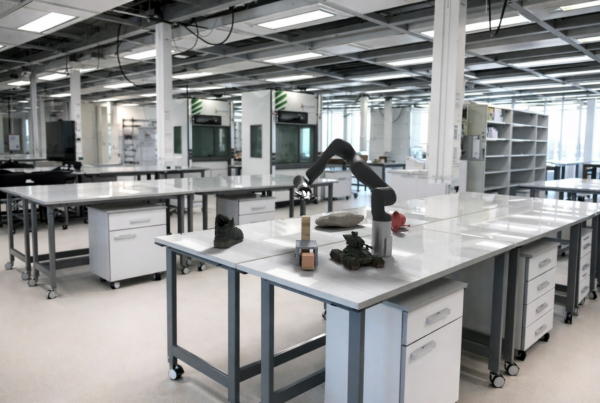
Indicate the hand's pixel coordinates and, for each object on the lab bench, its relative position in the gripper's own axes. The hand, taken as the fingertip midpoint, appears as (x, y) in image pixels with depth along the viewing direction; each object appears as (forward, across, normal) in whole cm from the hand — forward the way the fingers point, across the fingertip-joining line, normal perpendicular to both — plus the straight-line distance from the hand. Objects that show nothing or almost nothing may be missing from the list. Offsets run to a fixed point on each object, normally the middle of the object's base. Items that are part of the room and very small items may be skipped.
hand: (307, 200), depth 239 cm
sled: (+30, +1, +20) cm, 36 cm away
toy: (-51, +67, +24) cm, 88 cm away
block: (+40, 0, +18) cm, 44 cm away
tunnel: (+28, +1, +21) cm, 35 cm away
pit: (+17, +2, +23) cm, 29 cm away
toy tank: (+30, +24, +18) cm, 42 cm away
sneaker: (-12, -35, +33) cm, 50 cm away
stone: (-60, +31, +31) cm, 74 cm away
